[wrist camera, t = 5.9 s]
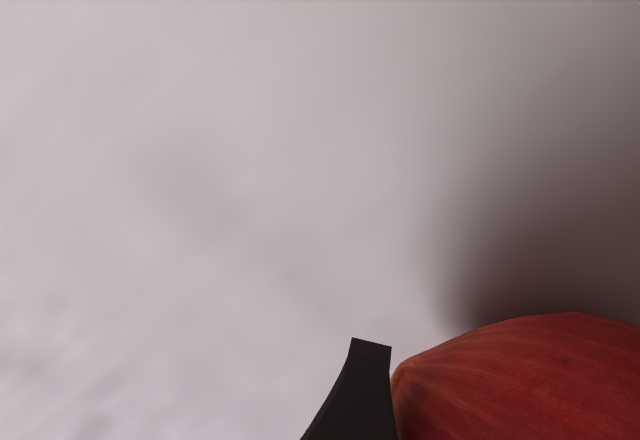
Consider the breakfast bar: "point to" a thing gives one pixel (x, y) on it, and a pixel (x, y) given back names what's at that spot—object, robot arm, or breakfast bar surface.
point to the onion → (524, 382)
